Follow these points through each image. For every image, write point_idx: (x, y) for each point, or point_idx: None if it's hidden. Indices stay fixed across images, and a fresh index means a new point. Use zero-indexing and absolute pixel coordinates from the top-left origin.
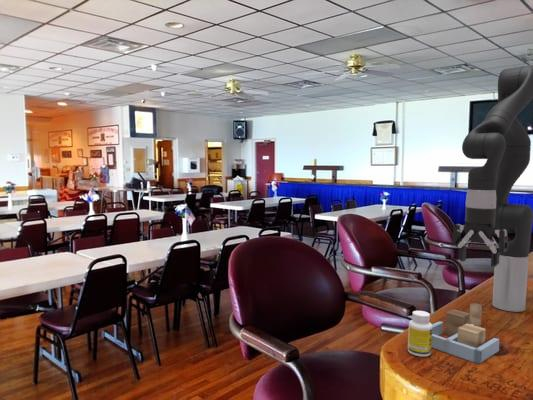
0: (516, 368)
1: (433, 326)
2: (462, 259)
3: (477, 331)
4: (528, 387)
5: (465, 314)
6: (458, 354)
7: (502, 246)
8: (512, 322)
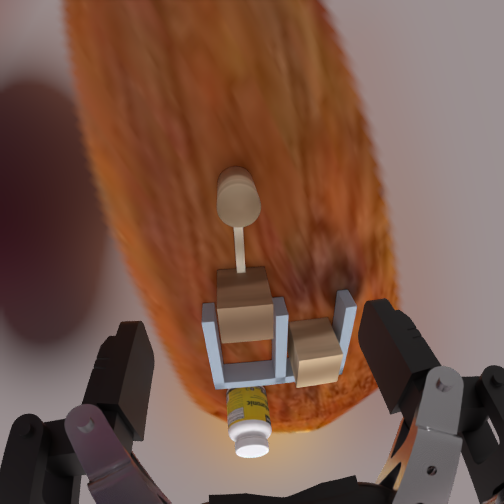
0: None
1: (217, 355)
2: (153, 368)
3: (334, 374)
4: None
5: (266, 318)
6: None
7: (478, 442)
8: (298, 51)
